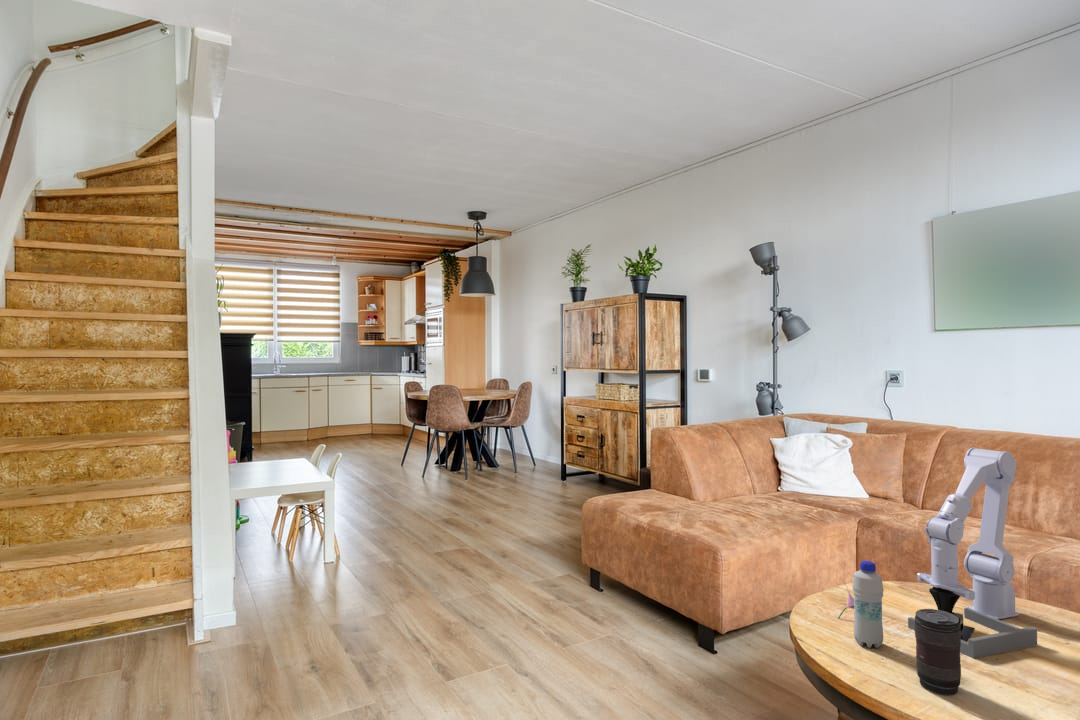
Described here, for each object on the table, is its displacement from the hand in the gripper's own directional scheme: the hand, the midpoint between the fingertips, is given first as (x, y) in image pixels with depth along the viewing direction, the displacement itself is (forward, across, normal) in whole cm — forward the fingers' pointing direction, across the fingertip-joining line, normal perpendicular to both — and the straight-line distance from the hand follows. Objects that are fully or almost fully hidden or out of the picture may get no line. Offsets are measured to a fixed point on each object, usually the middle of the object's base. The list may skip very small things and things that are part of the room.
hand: (945, 617), depth 157 cm
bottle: (+2, +2, -27) cm, 27 cm away
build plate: (+2, +3, -1) cm, 4 cm away
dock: (+2, +6, 0) cm, 6 cm away
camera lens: (+2, +22, -29) cm, 37 cm away
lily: (+2, -10, -19) cm, 22 cm away
